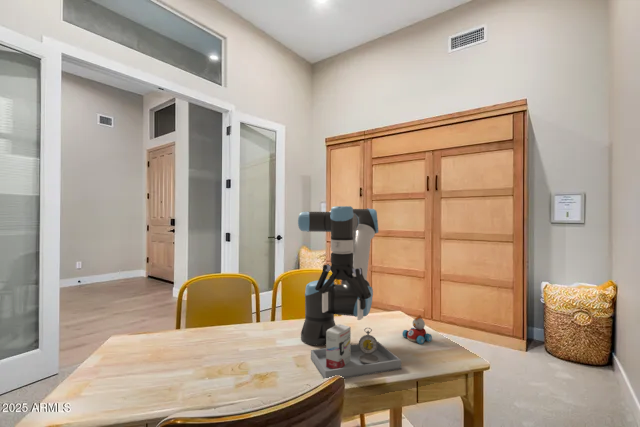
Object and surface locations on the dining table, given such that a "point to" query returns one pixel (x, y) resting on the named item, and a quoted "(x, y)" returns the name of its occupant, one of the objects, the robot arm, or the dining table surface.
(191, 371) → the dining table surface
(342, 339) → the ink box
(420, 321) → the toy car
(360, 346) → the pocket watch
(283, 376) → the dining table surface
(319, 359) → the tray
